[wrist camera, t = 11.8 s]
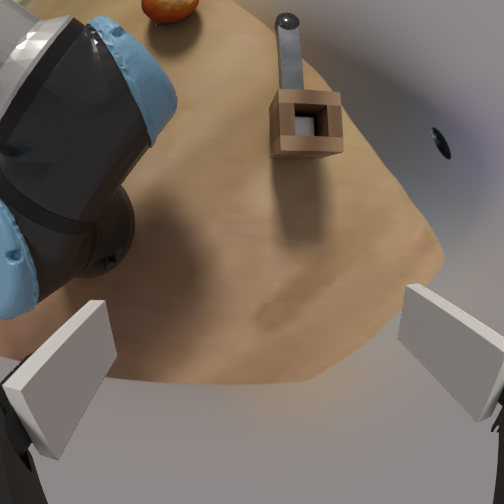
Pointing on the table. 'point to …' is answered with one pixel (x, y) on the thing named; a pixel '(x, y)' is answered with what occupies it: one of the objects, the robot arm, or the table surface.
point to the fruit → (168, 10)
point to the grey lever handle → (291, 65)
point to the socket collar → (305, 105)
